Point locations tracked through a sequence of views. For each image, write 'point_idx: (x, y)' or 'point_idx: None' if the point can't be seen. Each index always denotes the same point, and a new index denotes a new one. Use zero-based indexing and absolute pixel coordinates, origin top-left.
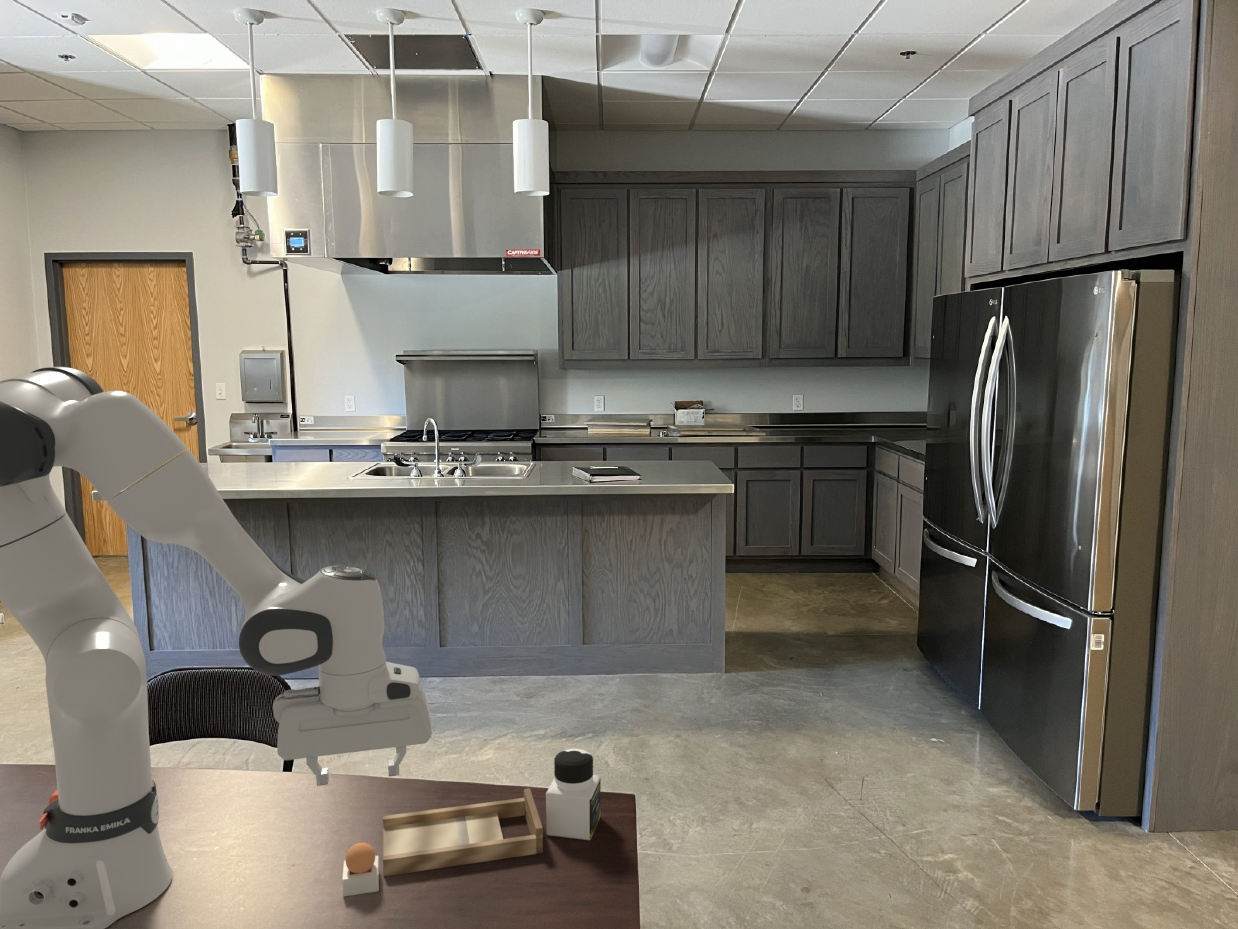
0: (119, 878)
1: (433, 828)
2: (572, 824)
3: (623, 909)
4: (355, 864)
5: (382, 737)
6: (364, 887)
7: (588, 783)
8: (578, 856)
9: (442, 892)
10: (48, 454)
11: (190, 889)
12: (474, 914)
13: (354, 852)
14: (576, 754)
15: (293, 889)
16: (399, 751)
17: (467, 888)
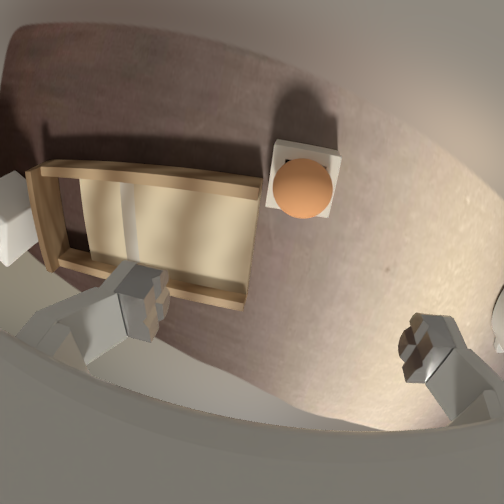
0: None
1: (171, 260)
2: (13, 186)
3: (11, 41)
4: (317, 164)
5: (57, 453)
6: (301, 145)
7: None
8: (24, 142)
9: (174, 100)
10: None
11: (494, 269)
12: (139, 37)
13: (317, 183)
14: None
15: (403, 209)
16: (52, 329)
17: (137, 100)
